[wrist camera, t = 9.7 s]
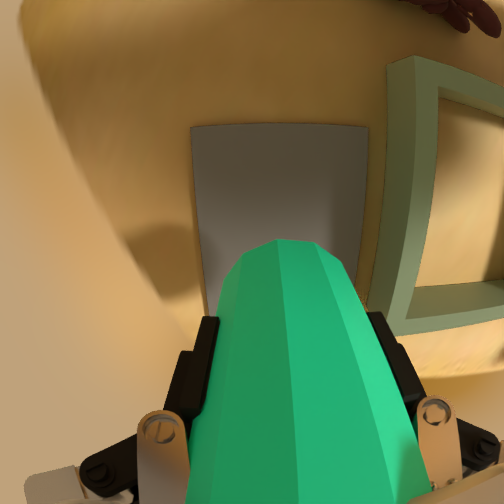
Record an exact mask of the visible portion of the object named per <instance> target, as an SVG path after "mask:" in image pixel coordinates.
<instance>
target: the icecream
mask: <svg viewBox="0 0 504 504" xmlns="http://www.w3.org/2000/svg"><path fill="white" fill-rule="evenodd" d="M399 1H407V2H409V3H412V4H415V5H421V7H422V9H423V10H425V11H426V12H428V13H429V14H434V13H440V14H441V15H442V16H443V17H444V19H445V20H446V21H447V22H448V23H450V24H451V25H452V26H453V27H454V28H455V29H456V30H458V31H460V32H461V33H467V32H468V31H469V30H470V24H469V20H468V19H467V17H468V18H469V19H470V20H471V21H472V22H473V23H474V24H475V25H476V26H477V27H478V28H479V29H480V30H482V31H483V32H484V33H485V34H487V35H488V36H491V37H494V38H498V37H500V34H501V23H500V21H499V19H498V17H497V15H496V14H495V13H494V11H493V10H492V9H491V8H490V7H489V6H488V4H486V3H485V2H484V1H483V0H399Z"/></svg>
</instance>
